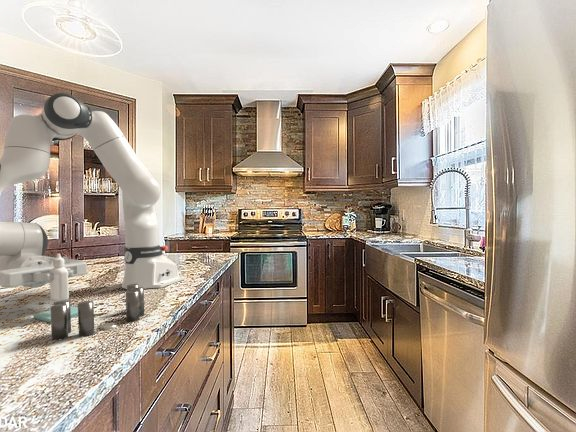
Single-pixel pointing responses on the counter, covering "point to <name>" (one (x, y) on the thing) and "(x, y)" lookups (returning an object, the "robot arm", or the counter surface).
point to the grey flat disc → (108, 326)
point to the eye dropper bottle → (59, 280)
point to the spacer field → (92, 313)
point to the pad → (47, 315)
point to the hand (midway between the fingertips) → (61, 275)
